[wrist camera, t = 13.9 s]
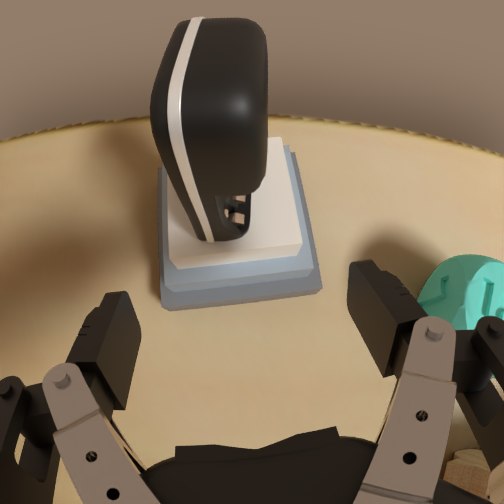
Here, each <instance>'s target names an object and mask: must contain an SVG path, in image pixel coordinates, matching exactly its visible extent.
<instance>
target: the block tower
mask: <svg viewBox="0 0 504 504" xmlns="http://www.w3.org/2000/svg"><path fill="white" fill-rule="evenodd" d="M158 248H159V274H160V292H161V307H163V308H164V309H166V310H168V311H177V310H188V309H198V308H207V307H217V306H226V305H234V304H243V303H251V302H259V301H267V300H275V299H282V298H290V297H297V296H304V295H311V294H316V293H317V292H319V291H320V290H321V289H322V288H323V287H322V281H321V275H320V270H319V264H318V259H317V254H316V248H315V243H314V238H313V233H312V228H311V223H310V218H309V214H308V209H307V204H306V199H305V195H304V190H303V186H302V181H301V177H300V172H299V168H298V164H297V160H296V155H295V152H293V153H290V149H289V145H287V146H283V144H282V140H281V137H271V138H268V152H267V166H266V174H265V177H264V178H263V180H262V182H261V185H260V187H259V188H258V189H257V190H256V191H255V192H253V193H251V217H250V226H249V230H248V232H247V233H246V234H245V235H244V236H243V237H241V238H239V239H236V240H231V241H215V243H208V242H207V241H201V240H199V239H198V238H197V236H196V234H195V231H194V229H193V227H192V224H191V222H190V220H189V217H188V215H187V213H186V212H185V210H184V208H183V206H182V204H181V202H180V200H179V198H178V196H177V194H176V192H175V190H174V187H173V185H172V183H171V181H170V178H169V176H168V174H167V171H166V169H165V166H164V164H163V161H162V168H158Z"/></svg>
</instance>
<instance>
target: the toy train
mask: <svg viewBox="0 0 504 504" xmlns="http://www.w3.org/2000/svg"><path fill="white" fill-rule="evenodd" d="M490 474H491V471H490V468H489V466H488V464H487V461H486V459H485V457H484V455H483V452H482V450H478V449H465V450H459V451H457V452H455V454H454V459H453V460H452V461H448V462H447V466H446V470H445V474H444V478H443V480H445V481H447V482H449V483H451V484H453V485H455V486H458V487H460V488H462V489H464V490H466V491H468V492H470V493H472V494H475V495H477V496H479V497H481V498H484V499H486V500H488V501H490V499H488V498H487V496H486V491H487V488H488V480H489V476H490Z"/></svg>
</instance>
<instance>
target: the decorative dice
mask: <svg viewBox="0 0 504 504" xmlns="http://www.w3.org/2000/svg"><path fill="white" fill-rule="evenodd" d="M417 302H418V303H419V304H420V306H421V307H422V308H423V309H424V311H425V312H426V313H427V314H428V316H434V317H439V318H442V319H444V320H446V321H448V322H449V323H450V324H451V325H452V326H453V327H454V329H455V330H474V329H475V327H476V324H477V322H478V320H479V319H480V318H481V317H484V316H495V317H498V318H501V319H502V320H504V263H503V262H501V261H499V260H496V259H494V258H490V257H487V256H482V255H459V256H454V257H452V258H449V259H447V260H446V261H444V262H443V263H441V264H440V265H439V266H438V267H437V268H436V269H435V270H434V272H433V273H432V274H431V276H430V277H429V278H428V280H427V282H426V283H425V285H424V287H423V289H422V291H421V293H420V295H419V297H418V299H417ZM491 378H495V377H494V375H492V377H491Z"/></svg>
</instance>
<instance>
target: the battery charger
mask: <svg viewBox="0 0 504 504" xmlns="http://www.w3.org/2000/svg"><path fill="white" fill-rule="evenodd" d="M150 121H151V127H152V133H153V137H154V140H155V143H156V146H157V149H158V151H159V154H160V156H161V159H162V161H163V164H164V166H165V169H166V171H167V174H168V176H169V178H170V181H171V183H172V185H173V187H174V190H175V192H176V194H177V196H178V198H179V200H180V202H181V204H182V206H183V208H184V210H185V212H186V213H187V215H188V217H189V220H190V222H191V224H192V227H193V229H194V231H195V234H196V236H197V238H198V239H199V240H201V241H207V242H208V243H215V241H231V240H236V239H239V238H241V237H243V236H244V235H245V234H246V233H247V232H248V230H249V226H250V217H251V193H253V192H255V191H256V190H257V189H258V188H259V187H260V185H261V182H262V180H263V178H264V177H265V174H266V166H267V152H268V55H267V44H266V36H265V34H264V32H263V30H262V28H261V27H260V26H259V25H258V24H257V23H256V22H254V21H251V20H249V19H244V18H212V19H205V17H194V18H192V19H191V20H186V21H182V22H180V23H179V24H178V25H177V27H176V28H175V30H174V32H173V35H172V37H171V39H170V42H169V44H168V46H167V48H166V51H165V53H164V56H163V59H162V62H161V65H160V67H159V70H158V73H157V76H156V79H155V82H154V86H153V90H152V94H151V103H150Z"/></svg>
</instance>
